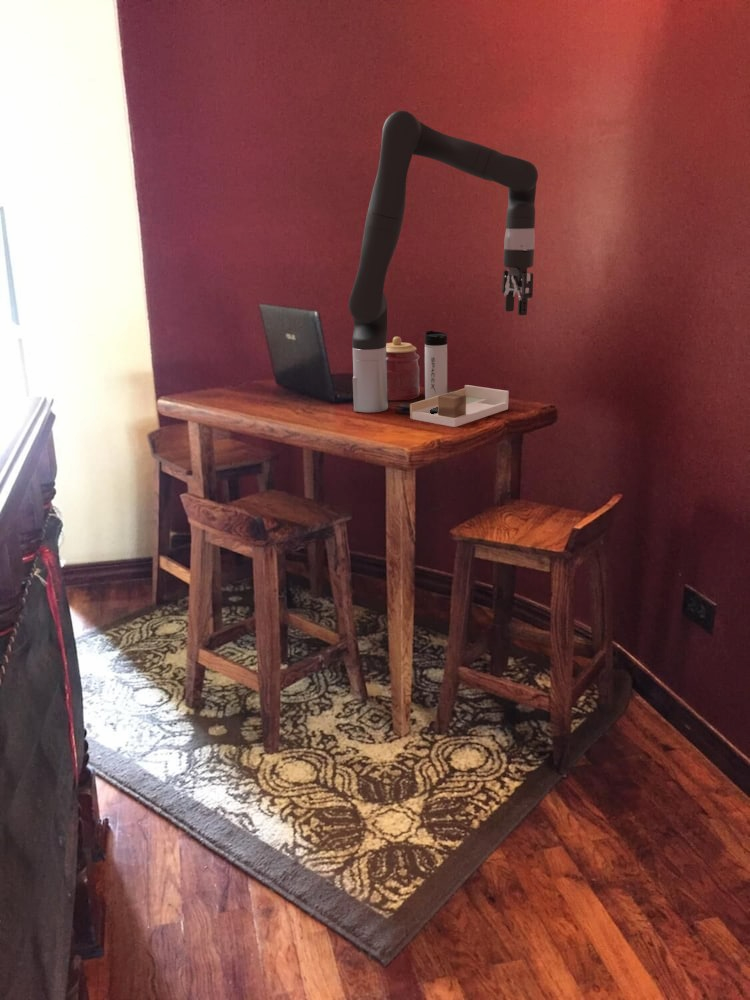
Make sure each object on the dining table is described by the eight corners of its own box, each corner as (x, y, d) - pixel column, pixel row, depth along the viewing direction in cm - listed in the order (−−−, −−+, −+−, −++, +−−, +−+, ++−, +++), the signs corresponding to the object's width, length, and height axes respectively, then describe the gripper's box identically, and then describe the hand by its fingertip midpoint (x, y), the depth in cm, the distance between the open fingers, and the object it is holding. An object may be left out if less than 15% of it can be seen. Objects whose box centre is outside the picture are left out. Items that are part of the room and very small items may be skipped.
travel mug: (437, 399, 226) (437, 329, 219) (451, 403, 221) (451, 331, 214) (420, 402, 223) (419, 331, 216) (433, 406, 218) (433, 334, 211)
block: (454, 418, 196) (454, 398, 195) (438, 415, 199) (438, 396, 198) (465, 414, 200) (466, 395, 198) (450, 411, 203) (450, 392, 201)
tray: (454, 427, 196) (454, 407, 194) (410, 418, 205) (409, 400, 203) (508, 409, 212) (508, 391, 210) (464, 402, 221) (464, 384, 220)
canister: (378, 392, 238) (376, 333, 232) (420, 391, 236) (420, 333, 230) (374, 401, 226) (372, 340, 220) (418, 401, 224) (418, 339, 218)
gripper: (494, 246, 201) (491, 310, 207) (516, 249, 188) (512, 317, 194) (521, 246, 203) (518, 309, 209) (545, 248, 190) (540, 316, 196)
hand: (515, 313), depth 201 cm, fingers open, 8 cm apart
